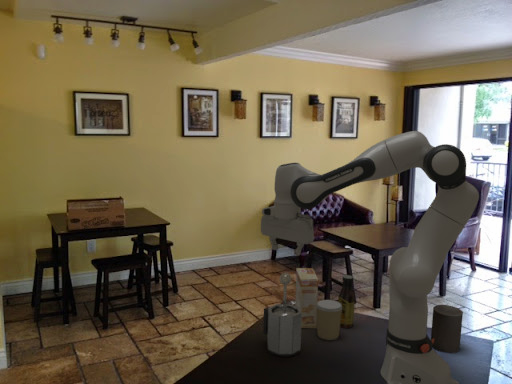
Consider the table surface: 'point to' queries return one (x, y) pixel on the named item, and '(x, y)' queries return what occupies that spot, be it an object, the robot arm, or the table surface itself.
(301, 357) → the table surface
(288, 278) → the plunger
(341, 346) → the table surface
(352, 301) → the sauce bottle
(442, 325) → the pillar candle
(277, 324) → the press pot
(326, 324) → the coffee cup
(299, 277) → the coffeecake box
